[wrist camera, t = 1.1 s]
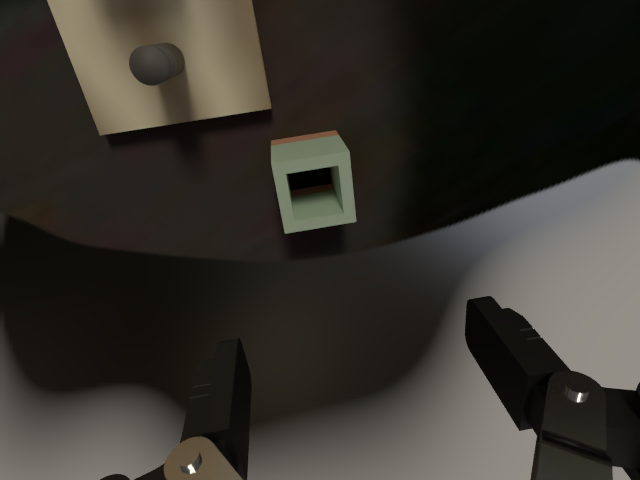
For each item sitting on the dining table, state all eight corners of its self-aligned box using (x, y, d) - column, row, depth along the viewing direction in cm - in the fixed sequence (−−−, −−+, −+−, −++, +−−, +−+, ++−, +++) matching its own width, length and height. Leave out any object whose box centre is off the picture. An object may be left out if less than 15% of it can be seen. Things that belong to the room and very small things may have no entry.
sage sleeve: (335, 130, 31) (349, 151, 25) (342, 191, 33) (356, 221, 28) (270, 140, 31) (271, 163, 25) (282, 200, 33) (284, 233, 28)
